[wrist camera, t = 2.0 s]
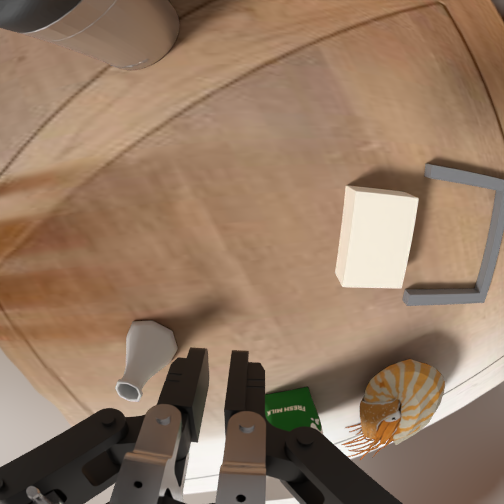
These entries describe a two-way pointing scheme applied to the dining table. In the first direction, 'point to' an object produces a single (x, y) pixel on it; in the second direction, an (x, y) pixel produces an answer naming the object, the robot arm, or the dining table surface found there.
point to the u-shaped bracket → (500, 222)
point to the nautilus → (399, 403)
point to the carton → (375, 237)
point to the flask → (145, 356)
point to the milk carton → (287, 418)
